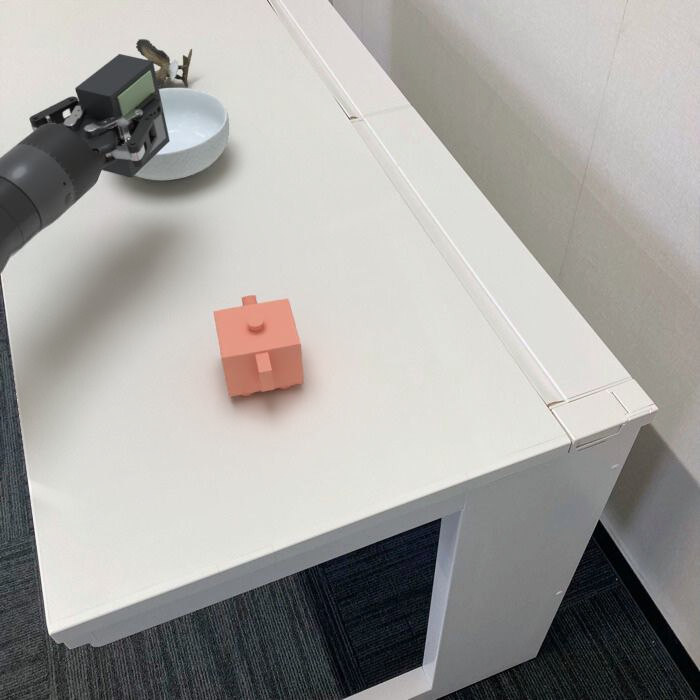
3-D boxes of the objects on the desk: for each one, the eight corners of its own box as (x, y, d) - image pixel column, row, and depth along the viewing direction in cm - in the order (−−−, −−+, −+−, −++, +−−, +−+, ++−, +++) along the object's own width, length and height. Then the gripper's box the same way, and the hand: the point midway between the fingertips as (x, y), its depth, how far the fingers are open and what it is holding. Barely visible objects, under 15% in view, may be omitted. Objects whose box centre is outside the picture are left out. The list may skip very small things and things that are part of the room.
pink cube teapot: (287, 323, 87) (281, 269, 81) (308, 404, 80) (304, 351, 74) (218, 335, 86) (207, 281, 80) (233, 419, 78) (222, 366, 72)
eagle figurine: (194, 62, 125) (138, 51, 124) (191, 38, 118) (131, 26, 117) (186, 105, 124) (129, 94, 123) (182, 84, 117) (122, 73, 116)
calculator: (98, 169, 87) (74, 88, 80) (138, 133, 92) (119, 53, 85) (133, 178, 86) (111, 96, 79) (171, 141, 91) (154, 61, 84)
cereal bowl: (202, 117, 116) (194, 74, 111) (255, 172, 107) (249, 127, 102) (94, 154, 110) (81, 109, 105) (140, 215, 101) (128, 169, 95)
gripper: (90, 163, 71) (187, 77, 82) (-31, 130, 75) (76, 52, 86) (109, 227, 77) (198, 139, 87) (-5, 193, 81) (93, 112, 91)
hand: (137, 96), depth 86 cm, fingers closed on calculator, 4 cm apart
